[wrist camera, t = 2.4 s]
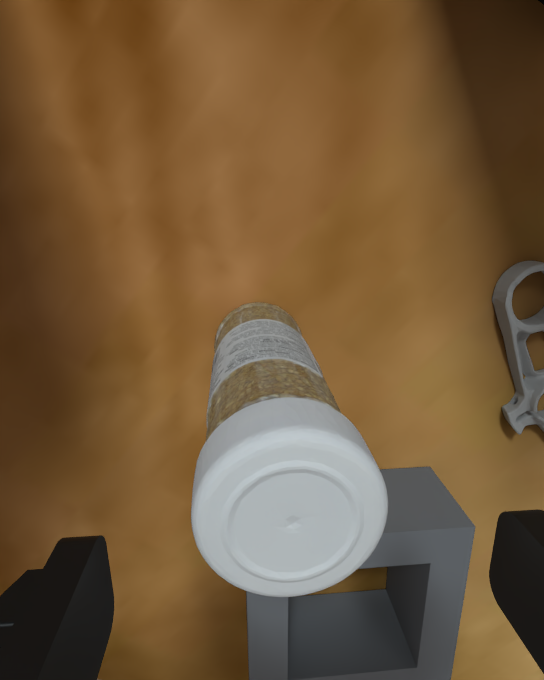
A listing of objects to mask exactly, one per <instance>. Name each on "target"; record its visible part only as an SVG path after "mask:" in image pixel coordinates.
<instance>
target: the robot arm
mask: <svg viewBox="0 0 544 680" xmlns="http://www.w3.org/2000/svg"><path fill="white" fill-rule="evenodd" d="M489 578H490V584H491V589H492V592H493V595H494V597H495V600H496V602H497V604H498V605H499V607H500V608H501V610H502V611H503V613H504V615H505V616H506V618H507V619H508V621H509V622H510V624H511V625H512V627H513V628H514V630H515V631H516V633H517V634H518V636H519V637H520V639H521V640H522V642H523V643H524V645H525V646H526V648H527V649H528V651H529V652H530V654H531V655H532V657H533V658H534V660H535V661H536V663H537V664H538V666H539V667H540V669H541V670H542V672H543V673H544V511H543V510H524V511H508V512H503V513H501V514H500V516H499V518H498V522H497V528H496V534H495V540H494V546H493V552H492V558H491V564H490V570H489ZM113 615H114V594H113V587H112V580H111V574H110V567H109V560H108V553H107V546H106V541H105V538H104V537H103V536H85V537H69V538H62V539H60V540H59V541H58V543H57V544H56V546H55V548H54V550H53V552H52V553H51V555H50V557H49V559H48V561H47V563H46V565H45V566H44V568H43V569H35V570H27V571H26V572H25V573H24V574H23V575H22V576H21V577H20V578H19V579H18V580H17V581H16V582H15V583H13V584H12V585H11V586H10V587H9V588H8V589H7V590H6V591H5V592H4V593H3V594H2V595H1V596H0V680H97V677H98V673H99V670H100V667H101V663H102V660H103V657H104V653H105V650H106V647H107V643H108V640H109V636H110V633H111V628H112V623H113Z"/></svg>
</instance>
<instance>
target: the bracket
mask: <svg viewBox="0 0 544 680" xmlns="http://www.w3.org/2000/svg"><path fill="white" fill-rule="evenodd" d="M539 271H541V272H542V273H543V274H544V263H543V262H538V261H523V262H519V263H517V264H515V265H513V266H511V267H510V268H509V269H508V270H506V271H505V272H504V273H503V274H502V276H501V277H500V279H499V280H498V282H497V284H496V286H495V289H494V293H493V297H492V302H493V304H494V307H495V312H496V315H497V320H498V323H499V326H500V329H501V332H502V335H503V338H504V343H505V348H506V353H507V358H508V363H509V366H510V370H511V374H512V377H513V381H514V384H515V389H516V392H515V395H514V396H513V398H512V399H511V401H510V402H509V403H508V404H506V405H504V406H503V407H502V411H503V414H504V416H505V418H506V420H507V421H508V423H509V424H510V425H511V427H512V428H513V429H514V430H515V431H516V432H517V433H518V434H521V433H522V431H523V429H524V427H525V426H527V425H533V424H537V425H538V426H539V427H540V428H541V430H542V431H543V432H544V410H542V411H537V405H538V401H539V399H540V397H541V396H542V395H543V394H544V369H541V370H537V371H534V368H533V364H532V361H531V358H530V355H529V352H528V349H527V346H526V340H527V338H528V337H529V335H530V334H532V333H535V332H539V331H543V332H544V306H543V308H542V309H541V310H540V311H539V312H538V313H537V314H535V315H534V316H532V317H530V318H527V319H524V320H518V319H517V318H516V316H515V314H514V312H513V309H512V296H513V291H514V289H515V287H516V285H518V284H519V283H520V282H521V281H522V280H523V279H524V278H525V277H526V276H528V275H530V274H532V273H534V272H539ZM522 373H523V374H524V375H525V376H526V377H525V379H523V374H522Z"/></svg>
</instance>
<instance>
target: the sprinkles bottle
mask: <svg viewBox="0 0 544 680" xmlns="http://www.w3.org/2000/svg"><path fill="white" fill-rule="evenodd" d="M214 348H215V356H214V360H213V367H212V376H211V384H210V393H209V401H208V408H207V434H206V443H205V444H204V446H203V448H202V450H201V452H200V455H199V458H198V460H197V465H196V470H195V476H194V485H193V494H192V507H191V522H192V530H193V534H194V538H195V541H196V544H197V547H198V549H199V551H200V553H201V554H202V556H203V558H204V559H205V561H206V562H207V563H208V565H209V566H210V567H211V568H212V569H213V570H214V571H215V572H216V573H217V574H218V575H219V576H221V577H222V578H223V579H225V580H226V581H228V582H229V583H231V584H233V585H234V586H236V587H238V588H241V589H243V590H245V591H248V592H251V593H255V594H259V595H264V596H272V597H294V596H301V595H306V594H310V593H314V592H317V591H320V590H323V589H326V588H328V587H330V586H333V585H334V584H336V583H338V582H340V581H342V580H343V579H345V578H346V577H348V576H349V575H351V574H352V573H353V572H354V571H355V570H357V569H358V568H359V567H360V566H361V565H362V564H363V563H364V562H365V561H366V560H367V559H368V558H369V556H370V555H371V554H372V552H373V551H374V549H375V548H376V546H377V544H378V542H379V540H380V538H381V536H382V534H383V531H384V528H385V524H386V520H387V514H388V495H387V489H386V485H385V482H384V479H383V476H382V474H381V472H380V470H379V468H378V466H377V464H376V462H375V460H374V458H373V456H372V454H371V452H370V450H369V449H368V447H367V445H366V443H365V441H364V440H363V438H362V436H361V434H360V433H359V431H358V430H357V428H356V427H355V426H354V425H353V424H352V423H351V422H350V421H349V420H348V419H347V418H346V417H345V416H344V415H342V413H341V412H340V409H339V407H338V405H337V403H336V401H335V399H334V396H333V395H332V393H331V391H330V389H329V387H328V386H327V383H326V381H325V379H324V377H323V374H322V371H321V369H320V367H319V365H318V363H317V361H316V359H315V358H314V356H313V354H312V352H311V350H310V348H309V346H308V345H307V343H306V341H305V340H304V339H303V337H302V334H301V331H300V329H299V327H298V325H297V323H296V322H295V320H294V319H293V318H292V317H291V316H290V315H289V314H288V313H287V312H286V311H284V310H283V309H281V308H280V307H278V306H276V305H271V304H268V303H258V302H255V303H250V304H245V305H242V306H240V307H238V308H236V309H235V310H233V311H232V312H231V313H229V314H228V315H227V316H226V317H225V319H224V320H223V321H222V322H221V324H220V326H219V327H218V330H217V334H216V337H215V344H214Z"/></svg>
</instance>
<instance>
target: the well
mask: <svg viewBox="0 0 544 680" xmlns="http://www.w3.org/2000/svg"><path fill="white" fill-rule="evenodd" d="M380 472H381V474H382V476H383V479H384V482H385V485H386V489H387V495H388V514H387V520H386V524H385V528H384V531H383V534H382V536H381V538H380V540H379V542H378V544H377V546H376V548H375V549H374V551H373V552H372V554H371V555H370V556H369V558H368V559H367V560H366V561H365V562H364V563H363V564H362V565H361V566H360V567H359V568H358V569H362V568H375V567H388V571H387V582H386V589H383V590H370V591H358V592H345V593H333V594H321V595H308V596H296V597H272V596H264V595H259V594H255V593H251V592H248V591H246V604H247V635H248V663H249V680H451V674H452V668H453V661H454V655H455V649H456V643H457V637H458V631H459V624H460V618H461V612H462V606H463V600H464V594H465V587H466V581H467V575H468V569H469V563H470V557H471V550H472V544H473V538H474V532H475V526H474V524H473V523H472V522H471V520H470V519H469V518H468V516H467V515H466V514H465V512H464V511H463V510H462V508H461V507H460V506H459V504H458V503H457V502H456V500H455V499H454V498H453V496H452V495H451V494H450V493H449V491H448V490H447V489H446V487H445V486H444V485H443V483H442V482H441V481H440V479H439V478H438V477H437V475H436V474H435V473H434V471H433V470H432V469H431V467H417V468H399V469H382V470H380Z"/></svg>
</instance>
